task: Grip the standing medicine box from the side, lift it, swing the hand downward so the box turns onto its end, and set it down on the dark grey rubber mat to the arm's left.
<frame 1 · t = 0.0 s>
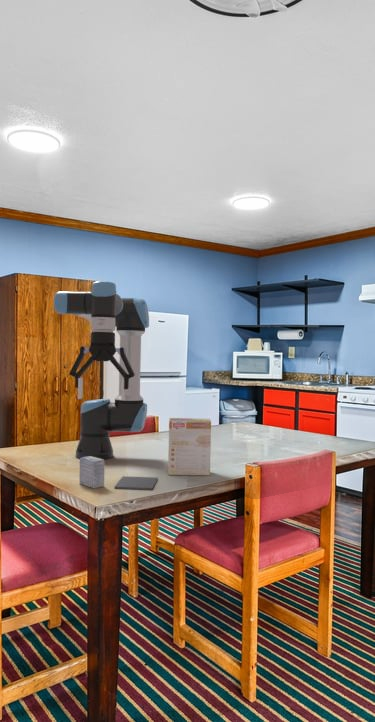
hand: (101, 399, 166), 28 cm above the table, tool pointing down, fingers open, 13 cm apart
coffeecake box: (188, 473, 190), on the table
mat: (136, 483, 172), on the table
medicine box: (91, 486, 169), on the table
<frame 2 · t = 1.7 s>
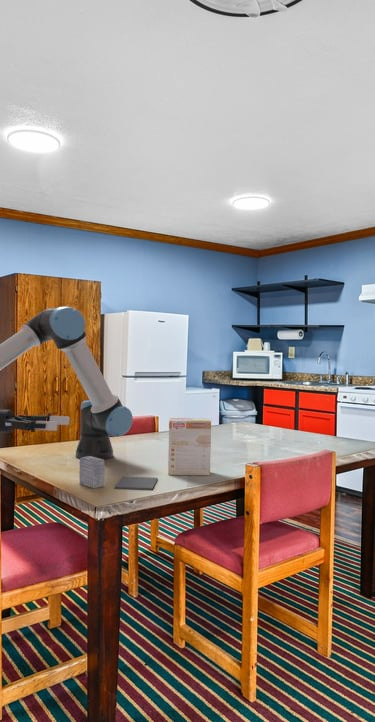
hand: (63, 423, 170), 20 cm above the table, tool horizontal, fingers open, 13 cm apart
nothing on the table moved.
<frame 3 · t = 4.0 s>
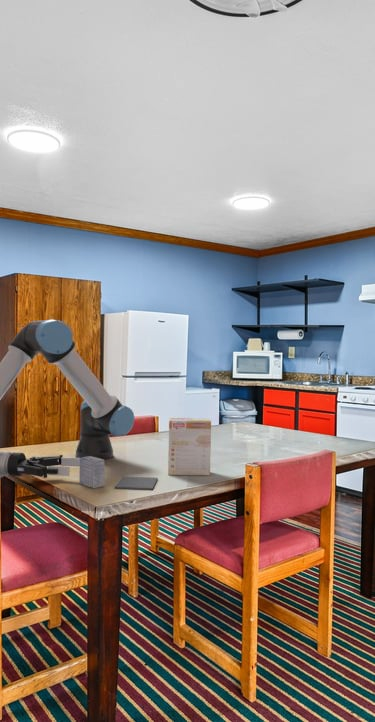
hand: (75, 466, 169), 6 cm above the table, tool horizontal, fingers open, 13 cm apart
nothing on the table moved.
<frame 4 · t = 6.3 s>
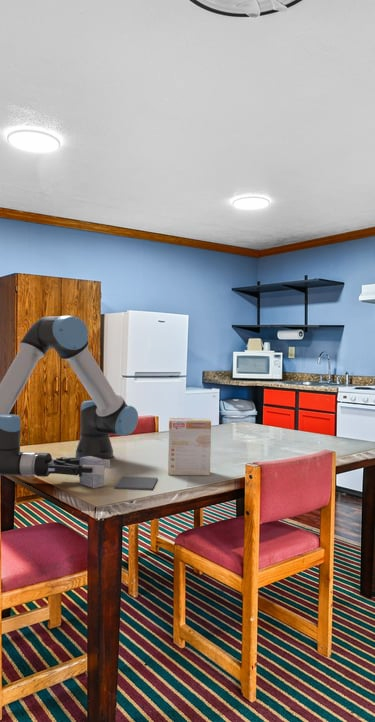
hand: (106, 466, 169), 6 cm above the table, tool horizontal, fingers closed on medicine box, 8 cm apart
medicine box: (91, 485, 169), on the table, touching gripper
everything else where it was.
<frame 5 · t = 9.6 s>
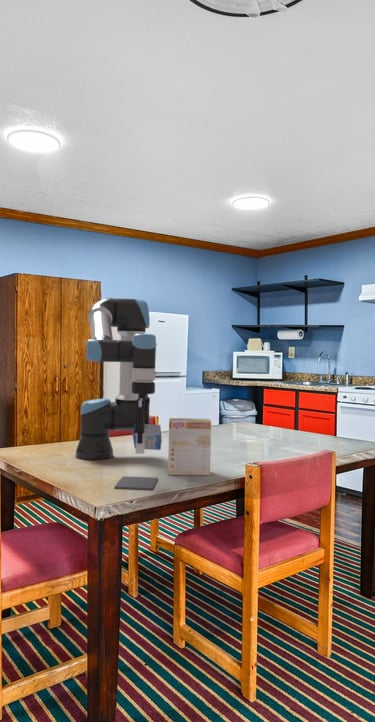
hand: (142, 450, 172), 11 cm above the table, tool pointing down, fingers closed on medicine box, 8 cm apart
medicine box: (161, 437, 172), point 15 cm above the table, touching gripper
everything else where it was.
when the fingers open (2 cm above the table, at t = 11.6 s): medicine box drops 2 cm, resting on mat.
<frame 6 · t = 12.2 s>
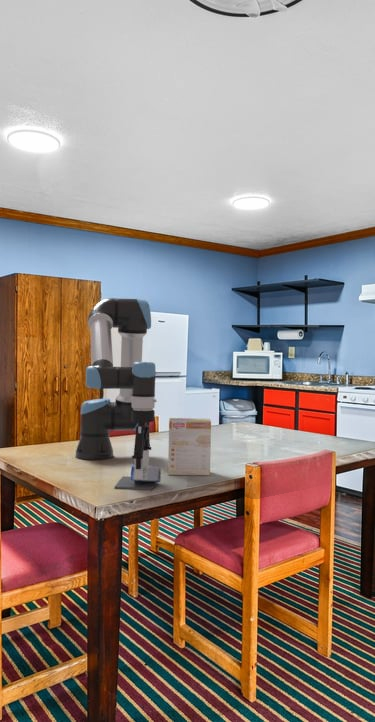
hand: (141, 474, 172), 3 cm above the table, tool pointing down, fingers open, 13 cm apart
medicine box: (160, 474, 170), point 4 cm above the table, touching gripper, mat
everything else where it was.
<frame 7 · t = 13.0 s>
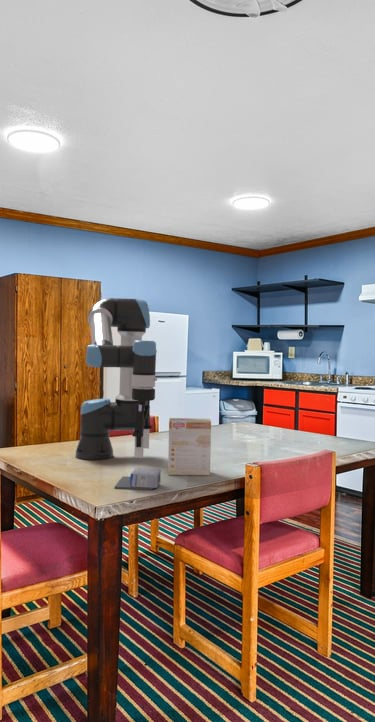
hand: (141, 452, 173), 10 cm above the table, tool pointing down, fingers open, 13 cm apart
medicine box: (159, 478, 169), point 3 cm above the table, touching mat
everything else where it was.
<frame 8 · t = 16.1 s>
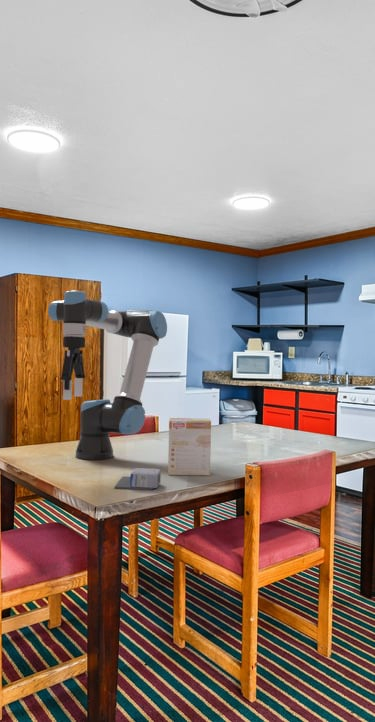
hand: (73, 398, 181), 27 cm above the table, tool pointing down, fingers open, 13 cm apart
nothing on the table moved.
at the end: medicine box inside the target area (8.4 cm from its centre), point 2.9 cm above the table; medicine box tilted 90°; the gripper is holding nothing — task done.
